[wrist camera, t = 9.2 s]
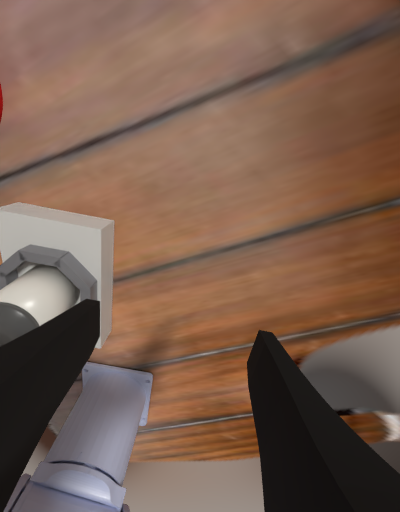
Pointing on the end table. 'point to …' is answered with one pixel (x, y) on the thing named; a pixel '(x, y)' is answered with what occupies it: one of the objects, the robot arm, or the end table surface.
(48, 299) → the lens
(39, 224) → the plate with octagonal ring
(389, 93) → the end table surface
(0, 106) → the decorative ornament
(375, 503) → the robot arm
